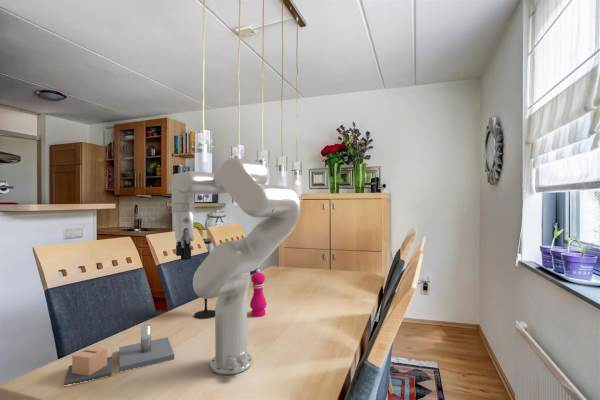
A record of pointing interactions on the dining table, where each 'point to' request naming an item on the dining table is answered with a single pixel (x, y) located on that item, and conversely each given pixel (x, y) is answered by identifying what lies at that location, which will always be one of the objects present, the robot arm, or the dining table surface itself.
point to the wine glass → (204, 312)
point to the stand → (145, 354)
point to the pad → (79, 378)
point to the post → (145, 338)
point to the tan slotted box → (89, 360)
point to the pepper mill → (258, 295)
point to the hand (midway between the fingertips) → (183, 257)
